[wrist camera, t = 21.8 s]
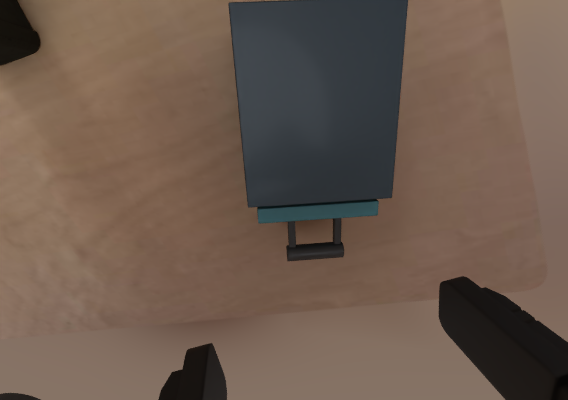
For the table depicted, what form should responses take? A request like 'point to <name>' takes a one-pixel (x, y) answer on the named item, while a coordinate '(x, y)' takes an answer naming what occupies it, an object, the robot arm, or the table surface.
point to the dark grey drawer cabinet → (318, 97)
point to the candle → (15, 33)
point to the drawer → (313, 213)
